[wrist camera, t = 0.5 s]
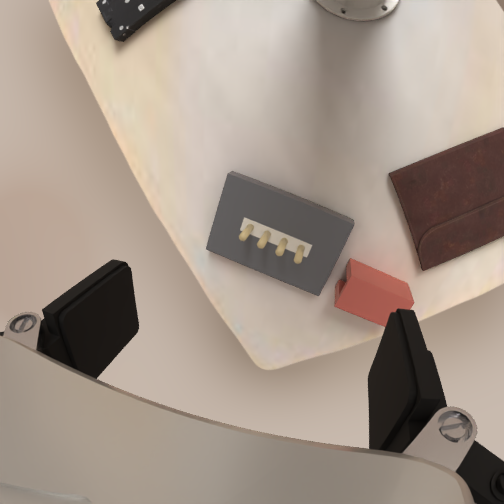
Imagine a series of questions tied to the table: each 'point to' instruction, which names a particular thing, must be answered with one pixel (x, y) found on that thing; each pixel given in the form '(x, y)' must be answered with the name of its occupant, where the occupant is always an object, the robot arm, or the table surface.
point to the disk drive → (129, 14)
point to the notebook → (454, 198)
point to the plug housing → (371, 293)
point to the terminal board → (278, 233)
